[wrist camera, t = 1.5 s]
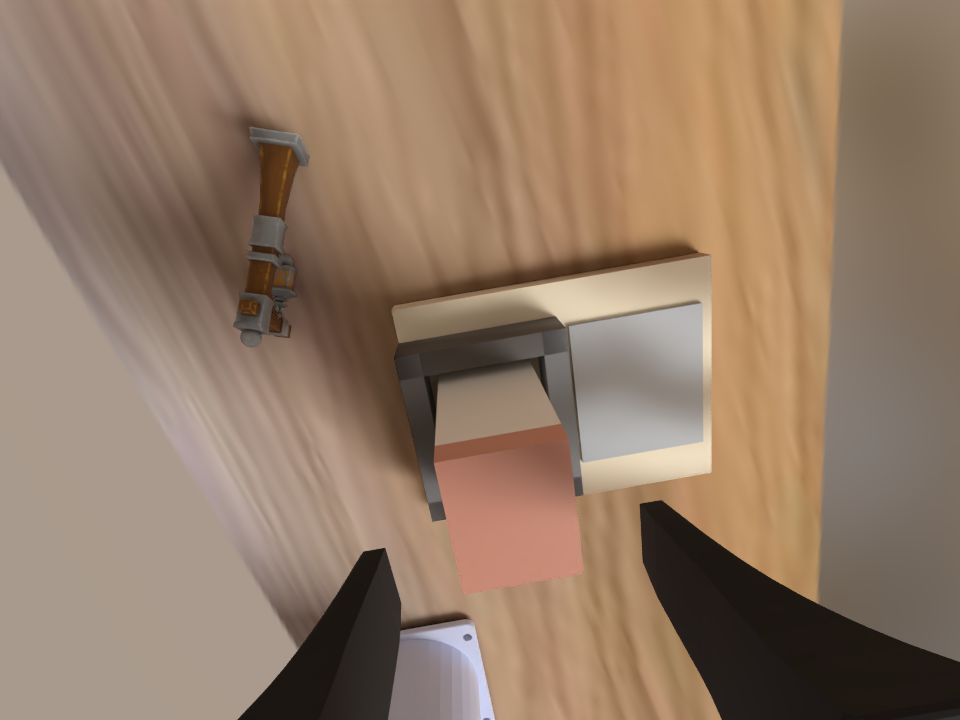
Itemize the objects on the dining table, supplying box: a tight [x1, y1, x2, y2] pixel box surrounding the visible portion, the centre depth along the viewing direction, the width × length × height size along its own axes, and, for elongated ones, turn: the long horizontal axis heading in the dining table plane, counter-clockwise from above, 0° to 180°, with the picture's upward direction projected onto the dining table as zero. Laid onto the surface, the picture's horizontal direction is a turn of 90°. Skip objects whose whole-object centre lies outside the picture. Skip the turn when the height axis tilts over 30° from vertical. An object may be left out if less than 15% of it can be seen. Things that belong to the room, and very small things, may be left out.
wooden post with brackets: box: [233, 127, 310, 347], centre depth 19 cm, size 2×8×4 cm, turn 173°
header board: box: [391, 253, 711, 522], centre depth 22 cm, size 11×14×3 cm
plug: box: [434, 358, 584, 595], centre depth 18 cm, size 5×4×8 cm
